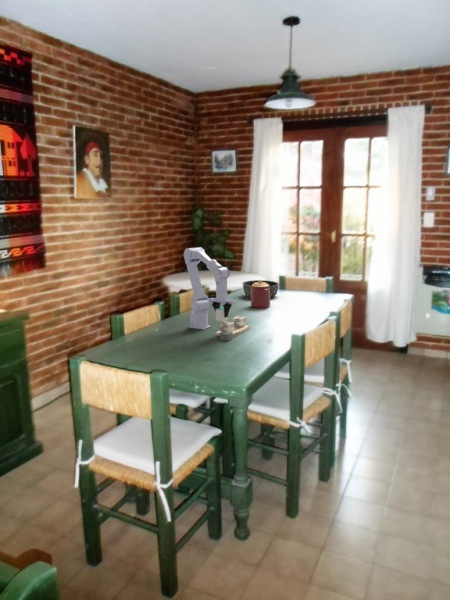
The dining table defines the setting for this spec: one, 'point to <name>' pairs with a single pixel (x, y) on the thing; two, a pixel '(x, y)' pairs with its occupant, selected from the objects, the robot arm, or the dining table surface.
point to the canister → (260, 295)
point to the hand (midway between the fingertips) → (222, 316)
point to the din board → (234, 326)
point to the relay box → (226, 336)
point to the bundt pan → (272, 285)
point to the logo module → (220, 314)
